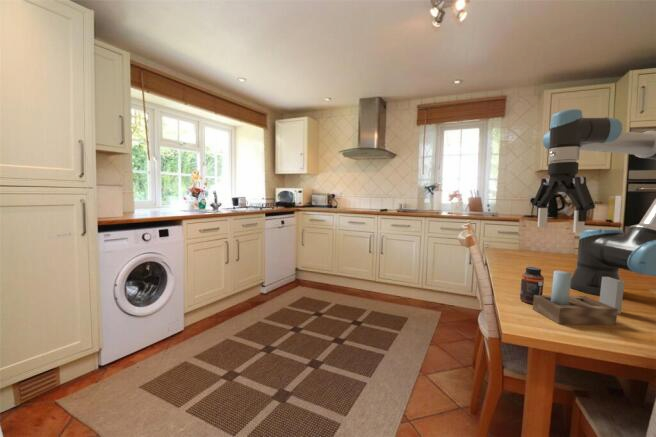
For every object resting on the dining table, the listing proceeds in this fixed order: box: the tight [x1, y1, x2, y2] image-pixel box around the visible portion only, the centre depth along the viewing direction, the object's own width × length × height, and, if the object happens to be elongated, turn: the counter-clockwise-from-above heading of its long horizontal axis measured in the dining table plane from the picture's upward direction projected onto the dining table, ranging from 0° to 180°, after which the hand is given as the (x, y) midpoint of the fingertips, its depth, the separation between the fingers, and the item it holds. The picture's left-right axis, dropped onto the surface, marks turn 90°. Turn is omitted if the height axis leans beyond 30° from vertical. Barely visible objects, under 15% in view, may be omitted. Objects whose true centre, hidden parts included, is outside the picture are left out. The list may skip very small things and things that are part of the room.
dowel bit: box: [551, 270, 572, 305], centre depth 86 cm, size 4×4×13 cm
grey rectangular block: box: [598, 277, 625, 315], centre depth 91 cm, size 2×5×10 cm, turn 1°
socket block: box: [532, 294, 618, 326], centre depth 86 cm, size 16×10×4 cm, turn 91°
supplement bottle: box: [519, 266, 545, 305], centre depth 97 cm, size 6×6×11 cm
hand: (558, 229), depth 95 cm, fingers open, 13 cm apart
